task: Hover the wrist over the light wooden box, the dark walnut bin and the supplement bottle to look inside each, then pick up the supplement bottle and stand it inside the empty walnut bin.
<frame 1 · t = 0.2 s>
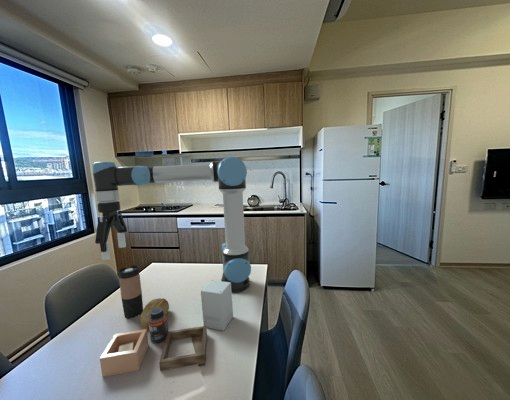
hand: (115, 253, 92), 28 cm above the table, fingers open, 13 cm apart
bread roll: (156, 320, 92), on the table
light wooden box: (127, 361, 72), on the table
maple cube: (127, 359, 72), point 1 cm above the table, touching light wooden box
walnut bin: (185, 351, 75), on the table
supplement box: (218, 322, 89), on the table
travel mug: (134, 313, 97), on the table
supplement bottle: (160, 340, 81), on the table
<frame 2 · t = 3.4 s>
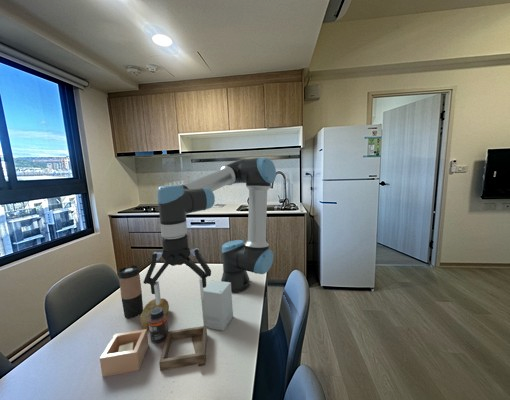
hand: (180, 299, 72), 19 cm above the table, fingers open, 13 cm apart
nothing on the table moved.
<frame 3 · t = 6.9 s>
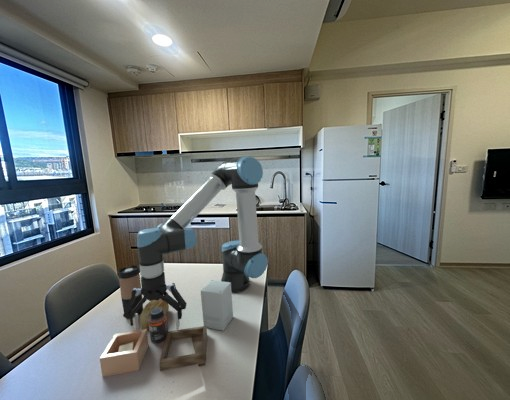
hand: (157, 330, 80), 4 cm above the table, fingers open, 13 cm apart
nothing on the table moved.
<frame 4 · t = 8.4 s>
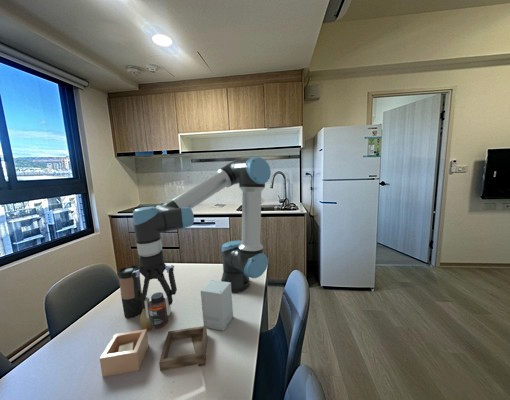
hand: (159, 314, 80), 10 cm above the table, fingers closed on supplement bottle, 6 cm apart
supplement bottle: (159, 325, 80), point 5 cm above the table, touching gripper
everything else where it was.
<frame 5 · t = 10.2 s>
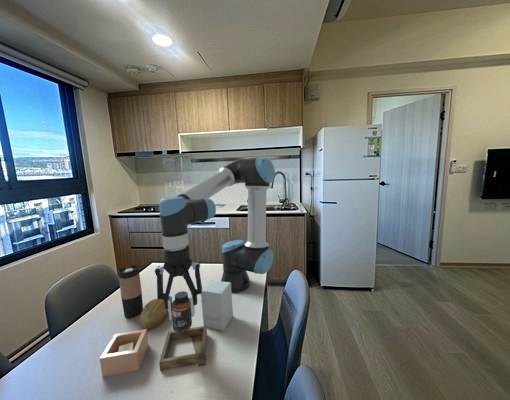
hand: (182, 315, 73), 13 cm above the table, fingers closed on supplement bottle, 6 cm apart
supplement bottle: (182, 327, 73), point 9 cm above the table, touching gripper
everything else where it was.
when the fingers open (3 cm above the table, at t = 12.2 s): supplement bottle stays where it is, resting on walnut bin.
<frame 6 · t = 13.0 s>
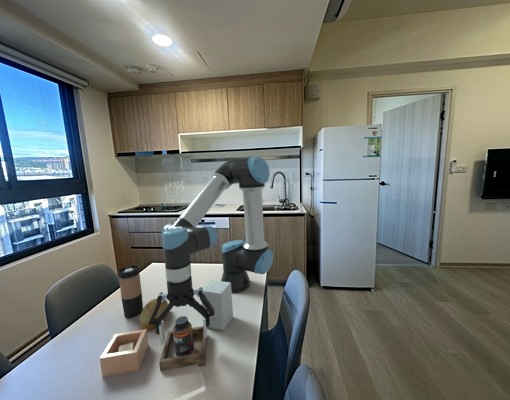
hand: (184, 338, 74), 5 cm above the table, fingers open, 13 cm apart
supplement bottle: (184, 351, 74), resting on walnut bin
everything else where it was.
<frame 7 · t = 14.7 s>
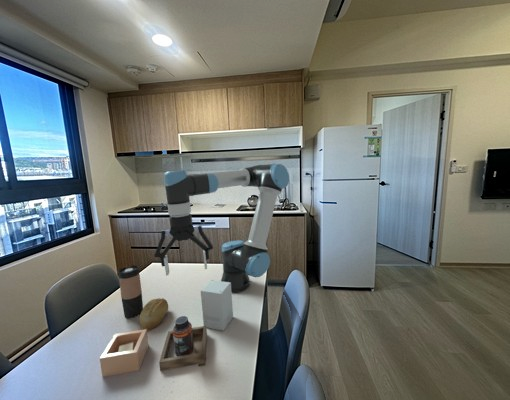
hand: (187, 270, 83), 23 cm above the table, fingers open, 13 cm apart
nothing on the table moved.
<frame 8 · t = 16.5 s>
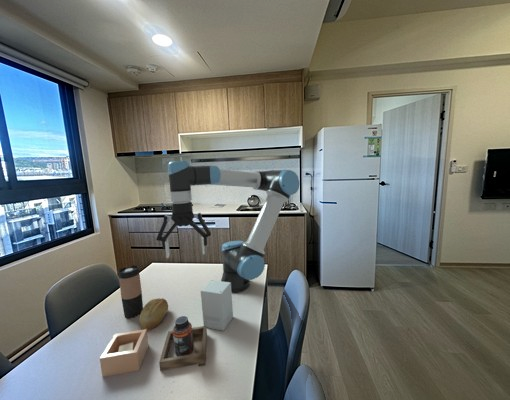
hand: (186, 255, 89), 27 cm above the table, fingers open, 13 cm apart
nothing on the table moved.
at the end: supplement bottle inside the target area on the walnut bin (0.4 cm from its centre), point 0.4 cm above the walnut bin's base; supplement bottle tilted 0°; the gripper is holding nothing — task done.
